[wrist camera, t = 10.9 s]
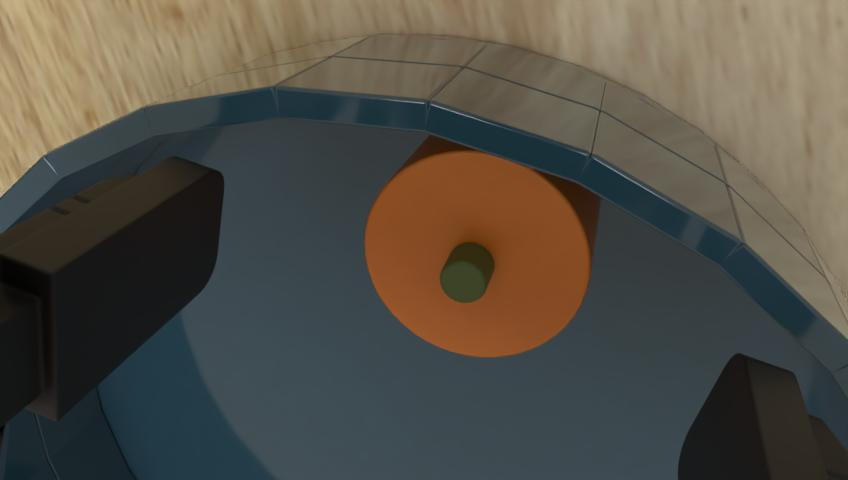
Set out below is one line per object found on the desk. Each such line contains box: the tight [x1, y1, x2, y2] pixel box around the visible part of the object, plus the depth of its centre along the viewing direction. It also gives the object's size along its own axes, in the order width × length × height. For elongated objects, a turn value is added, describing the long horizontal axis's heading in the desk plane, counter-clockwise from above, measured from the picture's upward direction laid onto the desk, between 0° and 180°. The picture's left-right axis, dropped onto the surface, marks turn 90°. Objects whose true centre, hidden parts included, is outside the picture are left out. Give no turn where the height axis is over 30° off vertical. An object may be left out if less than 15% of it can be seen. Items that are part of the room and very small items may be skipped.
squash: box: [364, 135, 601, 358], centre depth 13 cm, size 4×4×4 cm
